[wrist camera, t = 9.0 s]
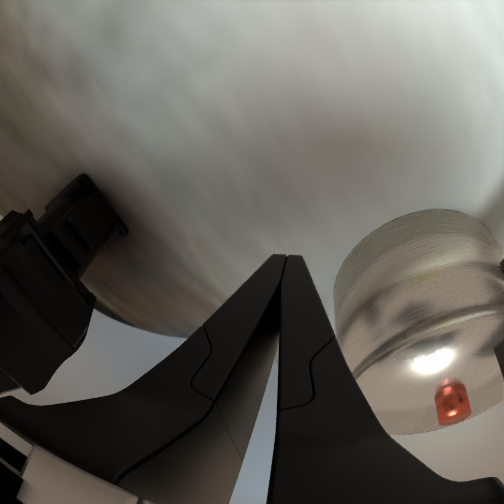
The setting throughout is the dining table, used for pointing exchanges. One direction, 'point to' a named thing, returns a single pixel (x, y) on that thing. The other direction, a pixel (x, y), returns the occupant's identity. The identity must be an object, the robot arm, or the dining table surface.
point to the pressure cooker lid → (437, 372)
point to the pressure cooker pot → (413, 278)
